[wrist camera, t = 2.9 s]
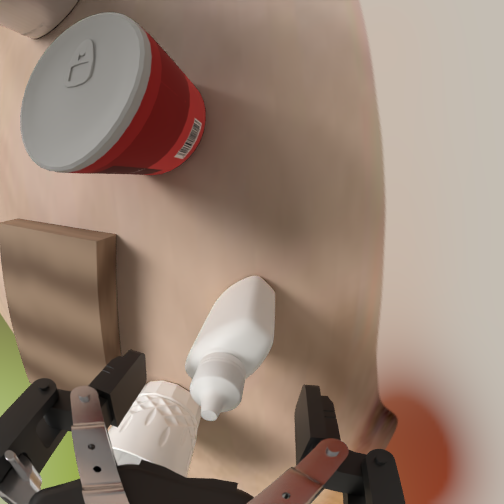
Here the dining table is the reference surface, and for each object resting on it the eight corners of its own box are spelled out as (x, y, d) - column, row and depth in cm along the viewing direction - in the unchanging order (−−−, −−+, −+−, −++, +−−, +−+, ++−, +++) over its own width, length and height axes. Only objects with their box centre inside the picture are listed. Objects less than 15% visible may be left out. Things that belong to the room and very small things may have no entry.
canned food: (199, 66, 18) (141, -14, 7) (218, 160, 20) (157, 135, 9) (114, 98, 19) (22, 60, 8) (126, 186, 20) (24, 195, 10)
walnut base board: (18, 218, 22) (-2, 223, 19) (116, 234, 21) (96, 241, 18) (42, 370, 27) (29, 382, 24) (129, 409, 26) (119, 426, 23)
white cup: (122, 384, 25) (77, 447, 16) (177, 365, 24) (136, 444, 14) (165, 432, 26) (137, 497, 17) (222, 420, 25) (203, 498, 15)
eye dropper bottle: (283, 321, 22) (286, 439, 10) (216, 334, 23) (172, 445, 11) (269, 270, 21) (262, 367, 9) (199, 286, 22) (130, 380, 10)
